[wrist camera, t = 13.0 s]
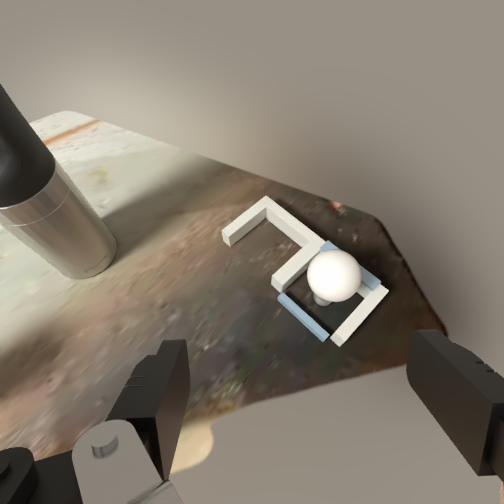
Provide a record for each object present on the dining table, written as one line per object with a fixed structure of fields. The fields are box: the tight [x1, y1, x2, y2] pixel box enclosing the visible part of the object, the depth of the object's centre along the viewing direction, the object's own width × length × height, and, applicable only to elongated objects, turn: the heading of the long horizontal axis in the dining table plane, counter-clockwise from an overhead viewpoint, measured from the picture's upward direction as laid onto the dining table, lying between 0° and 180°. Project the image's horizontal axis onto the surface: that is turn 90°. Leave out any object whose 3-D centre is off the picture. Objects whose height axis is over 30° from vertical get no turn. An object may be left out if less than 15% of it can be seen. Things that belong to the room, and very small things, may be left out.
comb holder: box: [222, 196, 389, 347], centre depth 45 cm, size 23×11×4 cm, turn 44°
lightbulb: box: [307, 249, 361, 306], centre depth 40 cm, size 6×6×11 cm
